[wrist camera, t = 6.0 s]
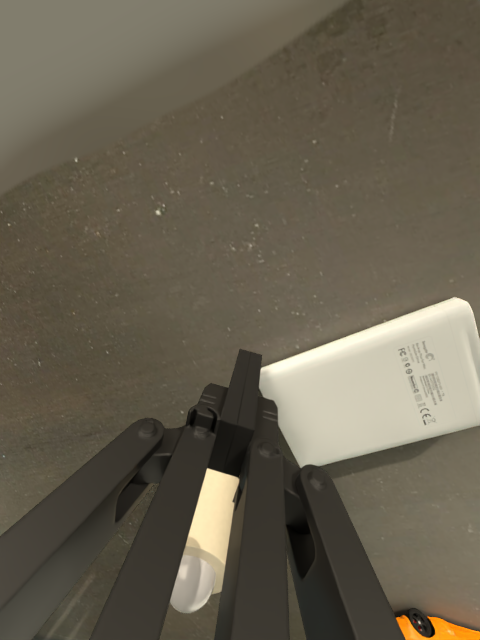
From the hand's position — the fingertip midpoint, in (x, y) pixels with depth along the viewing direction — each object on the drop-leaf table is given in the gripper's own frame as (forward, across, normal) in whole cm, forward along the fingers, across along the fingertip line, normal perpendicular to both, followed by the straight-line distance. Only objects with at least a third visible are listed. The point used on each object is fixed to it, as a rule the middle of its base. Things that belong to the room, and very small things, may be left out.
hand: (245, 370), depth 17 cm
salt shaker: (+1, 0, -12) cm, 13 cm away
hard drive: (+1, +8, +1) cm, 8 cm away
